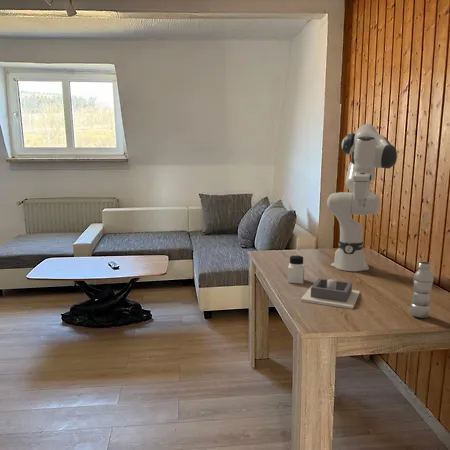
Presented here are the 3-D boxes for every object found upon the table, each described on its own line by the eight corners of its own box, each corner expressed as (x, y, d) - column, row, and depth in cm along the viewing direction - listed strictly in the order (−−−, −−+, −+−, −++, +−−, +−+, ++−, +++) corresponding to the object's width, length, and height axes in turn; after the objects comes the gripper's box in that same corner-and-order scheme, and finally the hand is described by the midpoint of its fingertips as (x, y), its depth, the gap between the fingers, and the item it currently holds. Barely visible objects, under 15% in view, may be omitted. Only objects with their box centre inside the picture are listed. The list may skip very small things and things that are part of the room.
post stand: (312, 286, 181) (313, 271, 180) (359, 293, 173) (360, 277, 171) (300, 301, 163) (301, 284, 162) (352, 309, 155) (353, 291, 154)
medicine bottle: (303, 283, 185) (304, 258, 183) (287, 282, 186) (288, 257, 184) (303, 279, 192) (304, 254, 190) (288, 278, 193) (289, 253, 191)
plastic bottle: (406, 313, 151) (410, 260, 147) (423, 312, 151) (428, 260, 148) (415, 320, 144) (420, 265, 141) (433, 319, 145) (439, 265, 142)
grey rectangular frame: (318, 287, 177) (318, 278, 177) (351, 291, 172) (352, 282, 171) (310, 296, 165) (311, 287, 164) (346, 302, 159) (346, 292, 158)
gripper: (359, 174, 182) (357, 205, 184) (352, 176, 164) (350, 211, 166) (374, 175, 179) (372, 206, 182) (369, 177, 161) (366, 211, 163)
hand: (361, 208), depth 174 cm, fingers open, 8 cm apart
